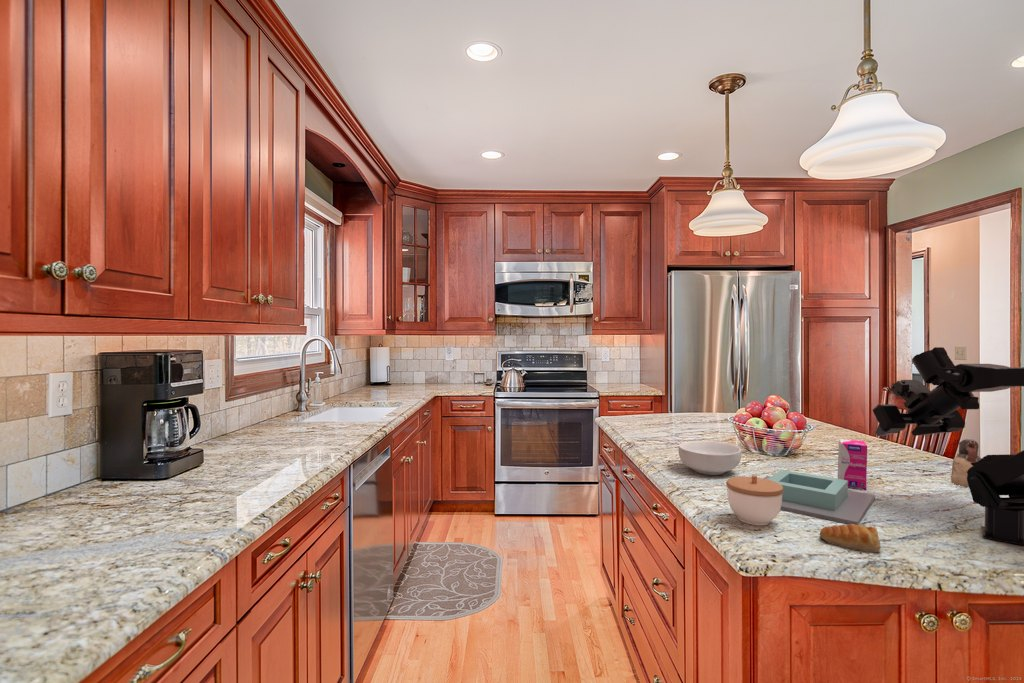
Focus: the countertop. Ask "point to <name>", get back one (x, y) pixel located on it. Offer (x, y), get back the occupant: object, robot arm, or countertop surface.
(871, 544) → the pastry
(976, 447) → the figurine
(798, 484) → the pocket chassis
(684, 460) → the cereal bowl
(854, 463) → the supplement box
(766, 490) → the lidded jar
